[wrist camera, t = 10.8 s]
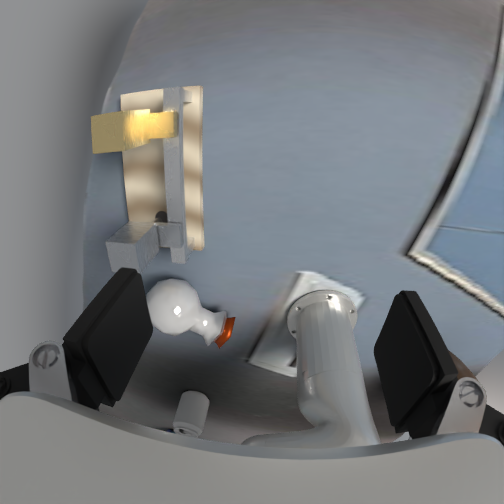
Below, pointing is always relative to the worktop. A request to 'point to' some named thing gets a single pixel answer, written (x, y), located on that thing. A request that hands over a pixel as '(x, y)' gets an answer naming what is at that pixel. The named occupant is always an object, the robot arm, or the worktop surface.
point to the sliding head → (130, 129)
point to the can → (191, 414)
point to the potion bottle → (186, 312)
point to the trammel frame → (174, 232)
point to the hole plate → (152, 165)
